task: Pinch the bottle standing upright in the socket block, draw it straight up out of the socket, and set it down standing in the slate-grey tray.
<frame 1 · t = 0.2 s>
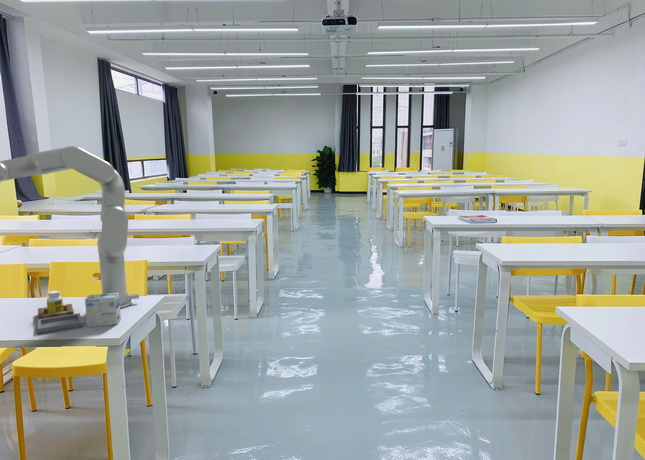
socket block: (56, 316, 188), on the table
light bulb box: (104, 323, 179), on the table
tray: (60, 325, 177), on the table
supplement bottle: (56, 316, 189), resting in socket block
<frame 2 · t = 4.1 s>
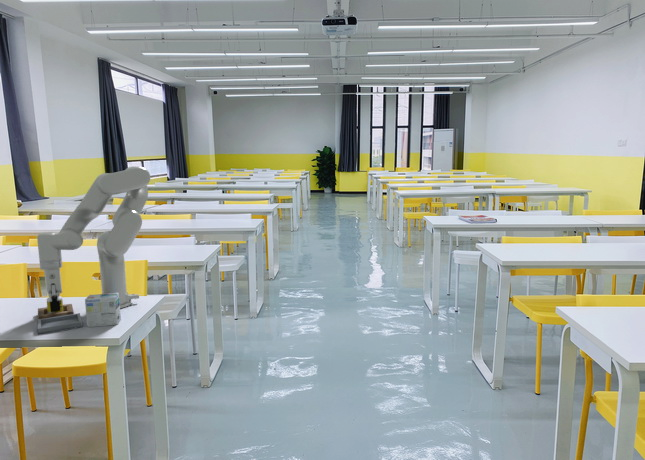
hand: (55, 308, 188), 3 cm above the table, tool pointing down, fingers closed on supplement bottle, 5 cm apart
supplement bottle: (56, 316, 189), resting in socket block, touching gripper
everything else where it was.
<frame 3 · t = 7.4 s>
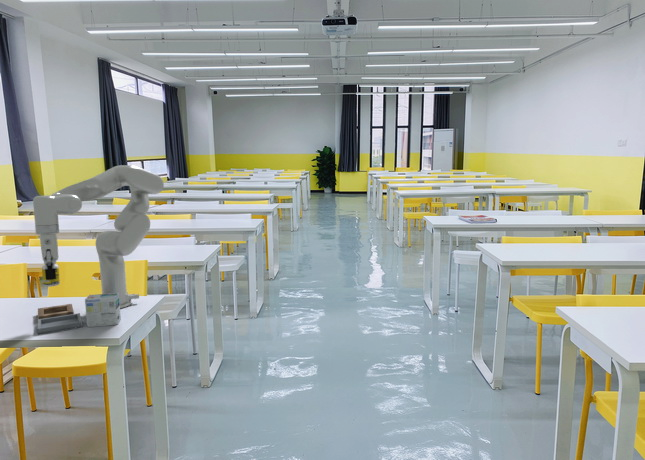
hand: (51, 277, 178), 18 cm above the table, tool pointing down, fingers closed on supplement bottle, 5 cm apart
supplement bottle: (51, 285, 178), point 14 cm above the table, touching gripper
everything else where it was.
when the fingers open (6 cm above the table, at t = 10.7 s): supplement bottle drops 2 cm, resting on tray.
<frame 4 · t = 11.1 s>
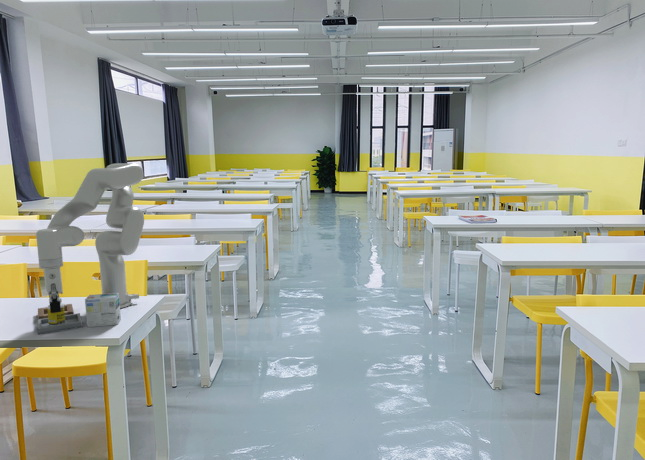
hand: (55, 308, 176), 7 cm above the table, tool pointing down, fingers open, 9 cm apart
supplement bottle: (57, 325, 177), resting on tray
everything else where it was.
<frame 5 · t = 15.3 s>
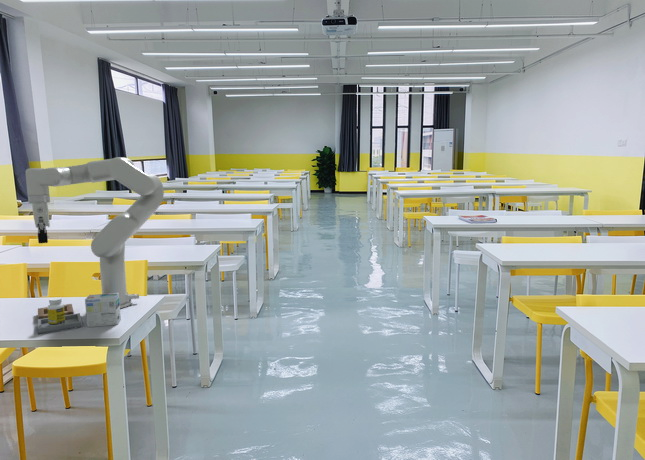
hand: (43, 241, 194), 28 cm above the table, tool pointing down, fingers open, 9 cm apart
nothing on the table moved.
at the end: supplement bottle inside the target area on the tray (0.9 cm from its centre), point 0.4 cm above the tray's base; supplement bottle tilted 0°; the gripper is holding nothing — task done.
